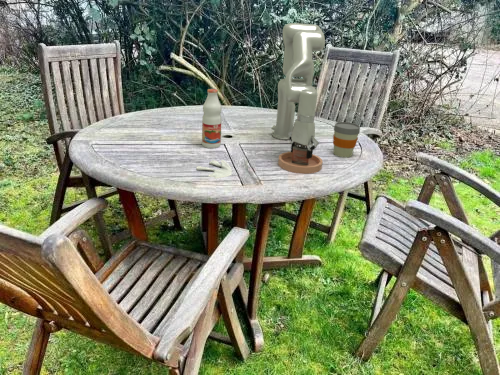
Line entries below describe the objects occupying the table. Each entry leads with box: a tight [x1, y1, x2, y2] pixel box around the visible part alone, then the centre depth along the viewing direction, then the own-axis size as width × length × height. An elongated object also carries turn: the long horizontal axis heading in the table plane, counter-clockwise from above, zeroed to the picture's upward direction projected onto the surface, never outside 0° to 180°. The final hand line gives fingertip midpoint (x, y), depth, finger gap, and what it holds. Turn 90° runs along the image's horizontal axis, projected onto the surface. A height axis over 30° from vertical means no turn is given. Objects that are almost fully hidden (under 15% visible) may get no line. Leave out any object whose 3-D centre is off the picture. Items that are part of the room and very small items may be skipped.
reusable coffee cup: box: [332, 121, 361, 158], centre depth 202 cm, size 13×13×15 cm
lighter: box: [291, 142, 309, 165], centre depth 186 cm, size 8×3×10 cm, turn 72°
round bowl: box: [277, 151, 324, 175], centre depth 187 cm, size 20×20×3 cm
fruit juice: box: [201, 88, 223, 149], centre depth 199 cm, size 9×9×28 cm
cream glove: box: [196, 159, 233, 180], centre depth 178 cm, size 20×22×2 cm
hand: (301, 154), depth 186 cm, fingers open, 9 cm apart
